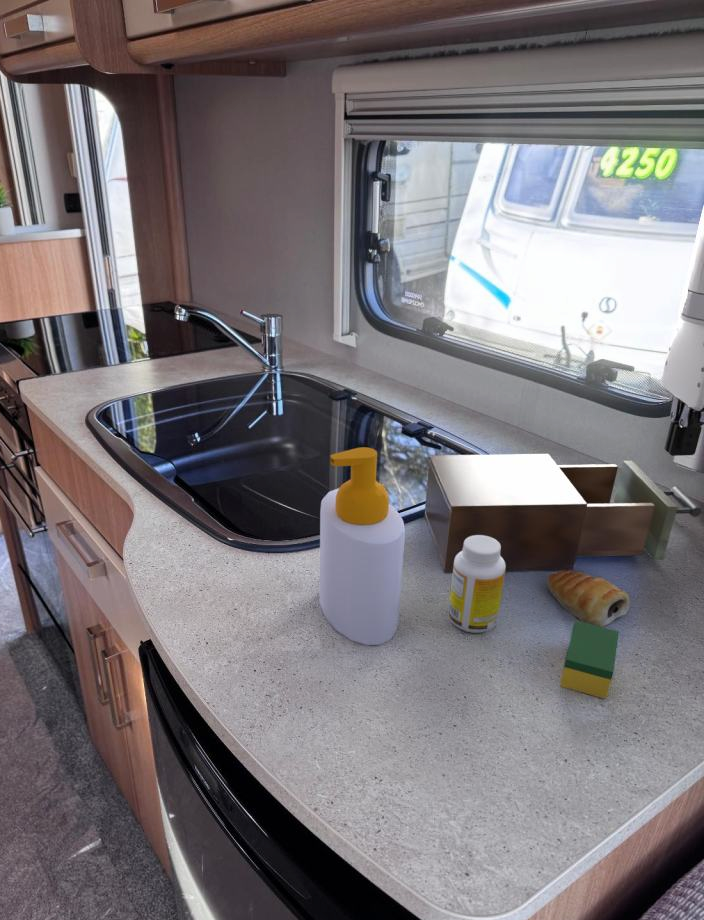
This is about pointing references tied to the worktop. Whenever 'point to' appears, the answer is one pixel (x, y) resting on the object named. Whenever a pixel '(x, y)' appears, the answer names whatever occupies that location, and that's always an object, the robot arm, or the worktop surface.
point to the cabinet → (505, 509)
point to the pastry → (588, 597)
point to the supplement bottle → (477, 585)
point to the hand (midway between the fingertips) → (679, 452)
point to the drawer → (625, 510)
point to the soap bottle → (361, 553)
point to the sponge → (590, 659)
